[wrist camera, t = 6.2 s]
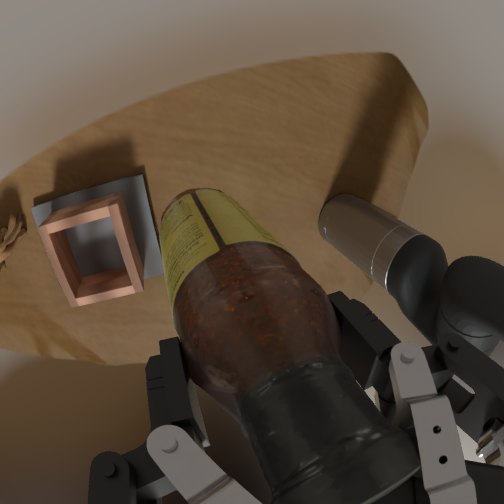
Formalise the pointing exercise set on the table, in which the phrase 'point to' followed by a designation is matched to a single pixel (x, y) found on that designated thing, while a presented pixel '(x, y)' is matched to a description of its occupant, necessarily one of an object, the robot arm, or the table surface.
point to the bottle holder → (101, 240)
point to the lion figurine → (3, 250)
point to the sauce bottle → (275, 357)
